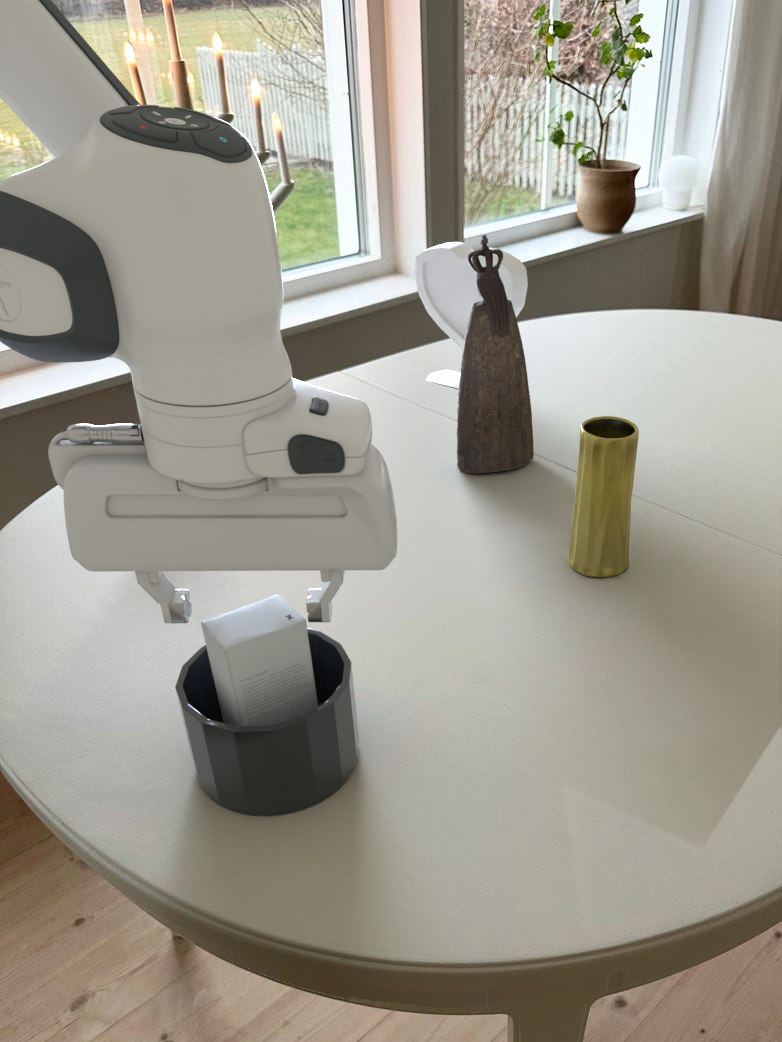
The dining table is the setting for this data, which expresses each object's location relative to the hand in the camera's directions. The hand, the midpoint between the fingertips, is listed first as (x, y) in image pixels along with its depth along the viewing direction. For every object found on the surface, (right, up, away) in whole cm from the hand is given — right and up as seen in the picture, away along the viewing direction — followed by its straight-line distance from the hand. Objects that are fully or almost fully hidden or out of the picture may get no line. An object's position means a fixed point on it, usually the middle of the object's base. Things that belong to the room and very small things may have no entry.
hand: (250, 618), depth 64 cm
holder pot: (0, -10, +8) cm, 13 cm away
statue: (+17, +19, +49) cm, 55 cm away
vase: (+27, +6, +31) cm, 41 cm away
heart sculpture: (+14, +34, +69) cm, 78 cm away
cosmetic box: (0, -10, +7) cm, 13 cm away
